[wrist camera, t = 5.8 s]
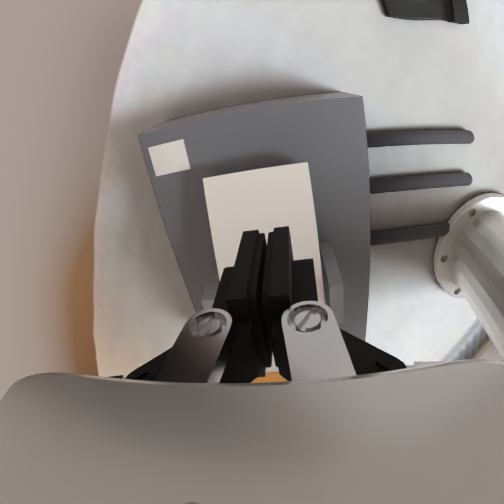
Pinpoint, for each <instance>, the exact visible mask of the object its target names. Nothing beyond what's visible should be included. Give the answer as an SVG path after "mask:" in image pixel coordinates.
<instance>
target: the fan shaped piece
mask: <svg viewBox="0 0 504 504" xmlns="http://www.w3.org/2000/svg"><path fill="white" fill-rule="evenodd" d="M381 2H382V4H383V7H384V11H385V14H386V16H387V17H393V18H398V19H406V20H444V21H447V22H453V23H457V24H466V23H468V24H469V15H468V8H467V3H466V0H381Z"/></svg>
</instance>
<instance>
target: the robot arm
mask: <svg viewBox="0 0 504 504" xmlns="http://www.w3.org/2000/svg"><path fill="white" fill-rule="evenodd" d="M447 223H449V225H450V228H449V229H450V230H449V233H448V234H446V235H445V236H439V239H438V242H437V245H436V248H435V253H434V272H435V276H436V278H437V280H438V282H439V284H440V285H441V287H442V288H443V290H444V291H446V292H447V293H448V294H449V295H451V296H453V297H457V298H466V300H467V301H468V303H469V304H470V306H471V308H472V309H473V311H474V312H475V314H476V316H477V317H478V319H479V321H480V322H481V324H482V326H483V327H484V329H485V331H486V333H487V334H488V336H489V338H490V340H491V341H492V343H493V345H494V347H495V349H496V350H497V352H498V354H499V356H500V358H501V360H502V361H495V360H485V359H475V360H458V361H448V362H414V365H405V364H404V363H403V362H402V361H400V360H399V359H398V358H396V357H394V356H392V355H390V354H388V353H386V352H384V351H382V350H380V349H378V348H376V347H375V346H373V345H371V344H369V343H367V342H365V341H363V340H361V339H359V338H357V337H355V336H354V335H352V334H350V333H348V332H346V331H344V330H342V329H340V328H339V327H338V324H337V321H336V319H335V316H334V314H333V312H332V310H331V309H330V307H328V306H327V305H326V304H324V303H321V302H318V295H317V286H316V278H315V270H314V262H313V258H311V259H301V260H294V259H293V252H292V244H291V237H290V230H289V226H285V227H276V228H274V231H273V232H269V233H268V241H267V243H266V237H265V233H259V230H251V231H243V234H242V237H241V241H240V245H239V249H238V253H237V256H236V260H235V264H234V267H225V268H224V270H223V273H222V276H221V279H220V283H219V286H218V289H217V293H216V296H215V299H214V303H213V306H212V309H206V310H202V311H200V312H198V313H196V314H194V315H193V316H192V317H190V318H189V320H188V321H187V322H186V324H185V325H184V327H183V329H182V331H181V332H180V334H179V336H178V338H177V340H176V341H175V343H174V345H173V347H172V348H170V349H169V350H167V351H165V352H164V353H162V354H160V355H159V356H157V357H155V358H154V359H152V360H151V361H149V362H147V363H146V364H144V365H142V366H141V367H139V368H137V369H136V370H134V371H133V372H131V373H130V374H129V375H128V376H127V377H126V378H125V377H124V376H123V375H120V376H111V377H100V376H90V375H81V374H80V375H79V374H70V373H42V374H35V375H31V376H28V377H25V378H22V379H20V380H18V381H17V382H15V383H14V384H13V385H12V386H11V387H10V388H9V390H8V391H7V392H6V394H5V395H4V396H3V398H2V399H1V401H0V504H504V196H503V195H502V194H497V193H485V194H482V195H479V196H476V197H474V198H472V199H471V200H469V201H467V202H466V203H465V204H464V205H462V206H461V207H460V208H459V209H458V210H457V211H456V212H455V213H454V214H453V215H452V216H451V218H450V219H449V221H448V222H447ZM460 230H461V231H460ZM272 354H273V356H274V361H275V366H276V367H278V369H279V374H280V375H281V376H282V377H283V378H285V379H286V380H287V382H267V383H251V382H252V381H253V380H255V379H256V378H257V377H265V374H266V368H269V367H271V366H272Z"/></svg>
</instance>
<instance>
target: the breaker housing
mask: <svg viewBox="0 0 504 504" xmlns="http://www.w3.org/2000/svg"><path fill="white" fill-rule="evenodd" d="M138 138H139V142H140V145H141V149H142V152H143V156H144V159H145V163H146V166H147V170H148V173H149V176H150V180H151V183H152V186H153V190H154V193H155V196H156V199H157V202H158V206H159V209H160V212H161V215H162V218H163V221H164V224H165V227H166V230H167V233H168V236H169V239H170V242H171V245H172V248H173V251H174V254H175V256H176V259H177V262H178V265H179V268H180V271H181V273H182V276H183V279H184V281H185V284H186V287H187V290H188V292H189V295H190V298H191V300H192V303H193V305H194V308H195V311H196V313H198V312H200V311H202V310H206V309H212V306H213V303H214V299H215V296H216V293H217V289H218V286H219V283H220V280H219V274H218V269H217V263H216V258H215V252H214V246H213V240H212V234H211V228H210V222H209V216H208V210H207V204H206V198H205V191H204V185H203V178H208V177H213V176H219V175H225V174H230V173H236V172H242V171H248V170H255V169H261V168H268V167H275V166H282V165H289V164H297V163H305V162H308V167H309V174H310V181H311V188H312V195H313V202H314V209H315V217H316V225H317V233H318V242H319V251H320V260H321V270H322V280H323V291H324V302H325V304H326V305H327V306H328V307H330V309H331V310H332V312H333V314H334V316H335V319H336V321H337V324H338V327H339V328H340V329H342V330H344V331H346V332H348V333H350V334H352V335H354V336H355V337H357V338H359V339H361V340H363V341H365V335H366V324H367V311H368V295H369V274H370V184H369V164H368V148H367V136H366V124H365V114H364V105H363V97H362V96H358V95H354V94H349V93H345V92H332V93H321V94H310V95H301V96H293V97H285V98H278V99H271V100H264V101H258V102H252V103H246V104H241V105H235V106H230V107H225V108H220V109H215V110H211V111H206V112H201V113H197V114H193V115H189V116H185V117H181V118H177V119H173V120H169V121H166V122H163V123H161V124H159V125H157V126H155V127H153V128H151V129H149V130H147V131H145V132H143V133H141V134H139V135H138Z"/></svg>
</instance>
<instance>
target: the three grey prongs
mask: <svg viewBox="0 0 504 504" xmlns="http://www.w3.org/2000/svg"><path fill="white" fill-rule="evenodd" d="M366 136H367V148H368V147H382V146H398V145H420V144H470V143H472V142H473V141H474V135H473V133H472V132H471V131H469V130H411V131H387V132H370V133H366ZM471 183H472V176H471V175H470V174H469V173H448V174H431V175H417V176H404V177H392V178H381V179H370V180H369V184H370V194H374V193H384V192H394V191H405V190H416V189H428V188H440V187H454V186H467V185H470V184H471ZM449 228H450V225H449V223H440V224H432V225H424V226H416V227H408V228H399V229H391V230H383V231H375V232H370V246H371V245H378V244H386V243H394V242H401V241H409V240H416V239H423V238H431V237H438V236H445V235H446V234H448V233H449V230H450V229H449ZM460 231H461V230H460Z"/></svg>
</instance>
